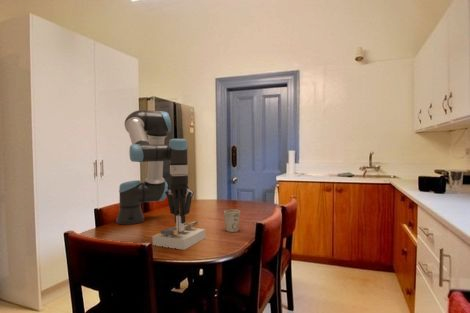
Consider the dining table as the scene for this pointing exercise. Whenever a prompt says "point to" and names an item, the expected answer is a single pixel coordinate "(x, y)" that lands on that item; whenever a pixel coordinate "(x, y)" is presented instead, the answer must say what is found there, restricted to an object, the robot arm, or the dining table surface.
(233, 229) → the mug
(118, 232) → the dining table surface
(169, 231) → the rocker
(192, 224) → the rocker
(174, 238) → the switch unit
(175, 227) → the rocker
